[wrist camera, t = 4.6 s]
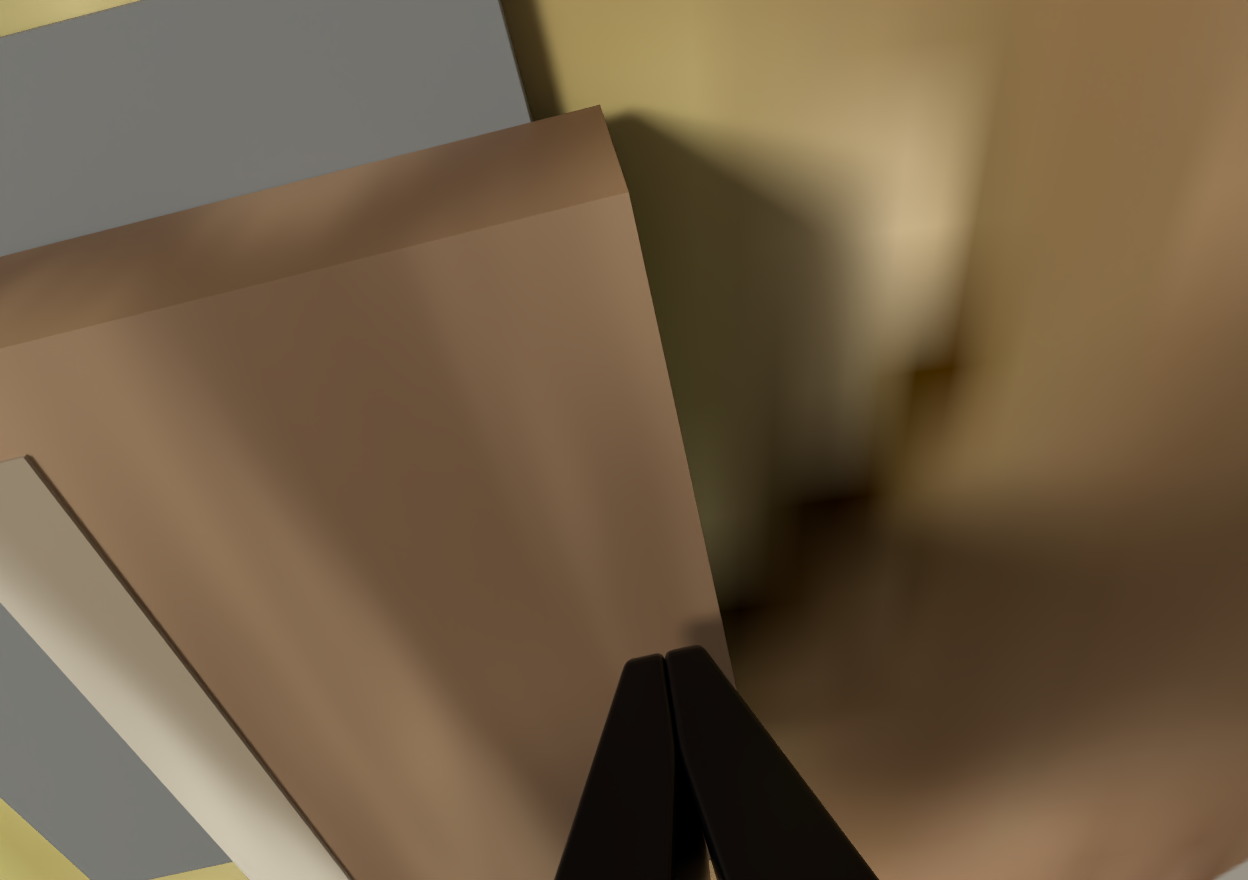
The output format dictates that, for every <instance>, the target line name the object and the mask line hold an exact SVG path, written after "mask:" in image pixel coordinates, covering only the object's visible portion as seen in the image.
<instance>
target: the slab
mask: <svg viewBox="0 0 1248 880" xmlns="http://www.w3.org/2000/svg"><path fill="white" fill-rule="evenodd" d="M0 603H1V604H2V605H3V606H4V607H5V608H6V609H7V611H8V612H9V613H10V614H11V615H12V616H13V617H14V618H15V619H16V621H17V622H18V623H19V624H20V625H21V626H22V627H23V628H24V629H25V631H26V632H27V633H28V634H29V635H30V636H31V637H32V638H33V639H34V641H35V642H36V643H37V644H38V645H39V646H40V647H41V648H42V650H43V651H44V652H45V653H46V654H47V655H48V656H49V657H50V658H51V660H52V661H53V662H54V663H55V664H56V665H57V666H58V667H59V668H60V670H61V671H62V672H63V673H64V674H65V675H66V676H67V677H68V678H69V680H70V681H71V682H72V683H73V684H74V685H75V686H76V687H77V688H78V690H79V691H80V692H81V693H82V694H83V695H84V696H85V697H86V698H87V700H88V701H89V702H90V703H91V704H92V705H93V706H94V707H95V708H96V710H97V711H98V712H99V713H100V714H101V715H102V716H103V717H104V719H105V720H106V721H107V722H108V723H109V724H110V725H111V726H112V727H113V729H114V730H115V731H116V732H117V733H118V734H119V735H120V736H121V737H122V739H123V740H124V741H125V742H126V743H127V744H128V745H129V746H130V747H131V749H132V750H133V751H134V752H135V753H136V754H137V755H138V756H139V757H140V759H141V760H142V761H143V762H144V763H145V764H146V765H147V766H148V767H149V769H150V770H151V771H152V772H153V773H154V774H155V775H156V776H157V778H158V779H159V780H160V781H161V782H162V783H163V784H164V785H165V786H166V788H167V789H168V790H169V791H170V792H171V793H172V794H173V795H174V796H175V798H176V799H177V800H178V801H179V802H180V803H181V804H182V805H183V806H184V808H185V809H186V810H187V811H188V812H189V813H190V814H191V815H192V816H193V818H194V819H195V820H196V821H197V822H198V823H199V824H200V825H201V826H202V828H203V829H204V830H205V831H206V832H207V833H208V834H209V835H210V836H211V838H212V839H213V840H214V841H215V842H216V843H217V844H218V845H219V847H220V848H221V849H222V850H223V851H224V852H225V853H226V854H227V855H228V857H229V858H230V859H231V860H232V861H233V862H234V863H235V864H236V865H237V867H238V868H239V869H240V870H241V871H242V872H243V873H244V874H245V875H246V877H247V878H248V879H249V880H554V878H555V875H556V872H557V868H558V865H559V862H560V859H561V856H562V853H563V850H564V847H565V844H566V841H567V838H568V835H569V832H570V829H571V826H572V823H573V820H574V817H575V813H576V810H577V807H578V804H579V801H580V798H581V795H582V792H583V789H584V786H585V783H586V780H587V777H588V774H589V771H590V768H591V765H592V762H593V759H594V755H595V752H596V749H597V746H598V743H599V740H600V737H601V734H602V731H603V728H604V725H605V722H606V719H607V716H608V713H609V710H610V707H611V704H612V701H613V697H614V694H615V691H616V688H617V685H618V682H619V679H620V676H621V673H622V670H623V667H624V665H625V663H626V662H627V661H628V660H630V659H633V658H637V657H642V656H646V655H651V654H655V653H659V654H661V655H663V656H664V658H665V655H666V653H667V652H668V651H670V650H673V649H678V648H682V647H687V646H692V645H701V646H702V647H703V648H704V649H705V650H706V651H707V652H708V653H709V655H710V656H711V657H712V659H713V660H714V661H715V663H716V664H717V665H718V667H719V668H720V669H721V671H722V672H723V673H724V675H725V676H726V677H727V679H728V680H729V681H730V683H731V684H732V685H733V687H734V688H735V689H736V684H735V679H734V675H733V670H732V666H731V661H730V656H729V652H728V647H727V642H726V638H725V633H724V629H723V624H722V619H721V615H720V610H719V606H718V601H717V596H716V592H715V587H714V583H713V578H712V573H711V569H710V564H709V560H708V555H707V550H706V546H705V541H704V537H703V532H702V527H701V523H700V518H699V514H698V509H697V504H696V500H695V495H694V491H693V486H692V481H691V477H690V472H689V468H688V463H687V458H686V454H685V449H684V445H683V440H682V435H681V431H680V426H679V422H678V417H677V412H676V408H675V403H674V399H673V394H672V389H671V385H670V380H669V376H668V371H667V366H666V362H665V357H664V353H663V348H662V343H661V339H660V334H659V330H658V325H657V320H656V316H655V311H654V307H653V302H652V297H651V293H650V288H649V284H648V279H647V274H646V270H645V265H644V261H643V256H642V251H641V247H640V242H639V238H638V233H637V228H636V224H635V219H634V215H633V210H632V205H631V201H630V196H629V192H628V189H627V186H626V183H625V180H624V177H623V174H622V170H621V167H620V164H619V161H618V158H617V155H616V152H615V149H614V146H613V143H612V140H611V137H610V134H609V131H608V128H607V125H606V122H605V119H604V116H603V113H602V110H601V107H600V105H597V106H593V107H589V108H585V109H581V110H577V111H573V112H569V113H565V114H561V115H557V116H553V117H549V118H546V119H542V120H538V121H534V122H530V123H526V124H522V125H518V126H514V127H510V128H506V129H502V130H498V131H494V132H490V133H486V134H482V135H478V136H475V137H471V138H467V139H463V140H459V141H455V142H451V143H447V144H443V145H439V146H435V147H431V148H427V149H423V150H419V151H415V152H411V153H407V154H404V155H400V156H396V157H392V158H388V159H384V160H380V161H376V162H372V163H368V164H364V165H360V166H356V167H352V168H348V169H344V170H340V171H336V172H332V173H329V174H325V175H321V176H317V177H313V178H309V179H305V180H301V181H297V182H293V183H289V184H285V185H281V186H277V187H273V188H269V189H265V190H261V191H258V192H254V193H250V194H246V195H242V196H238V197H234V198H230V199H226V200H222V201H218V202H214V203H210V204H206V205H202V206H198V207H194V208H190V209H187V210H183V211H179V212H175V213H171V214H167V215H163V216H159V217H155V218H151V219H147V220H143V221H139V222H135V223H131V224H127V225H123V226H119V227H115V228H112V229H108V230H104V231H100V232H96V233H92V234H88V235H84V236H80V237H76V238H72V239H68V240H64V241H60V242H56V243H52V244H48V245H44V246H41V247H37V248H33V249H29V250H25V251H21V252H17V253H13V254H9V255H5V256H1V257H0ZM736 691H737V689H736ZM706 847H707V844H706ZM707 853H708V860H711V858H710V855H709V851H708V848H707Z"/></svg>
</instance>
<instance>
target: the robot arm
mask: <svg viewBox="0 0 1248 880" xmlns="http://www.w3.org/2000/svg"><path fill="white" fill-rule="evenodd" d="M706 844H707V847H706ZM707 848H708V851H709V855H710V858H711V861H712V865H713V868H714V872H715V875H716V878H717V880H879V879H878V878H877V876H876V875H875V874H874V872H873V871H872V870H871V868H870V867H869V866H868V864H867V863H866V862H865V860H864V859H863V858H862V856H861V855H860V854H859V852H858V851H857V850H856V848H855V847H854V846H853V844H852V843H851V842H850V840H849V839H848V838H847V836H846V835H845V834H844V833H843V831H842V830H841V829H840V827H839V826H838V825H837V823H836V822H835V821H834V819H833V818H832V817H831V815H830V814H829V813H828V811H827V810H826V809H825V807H824V806H823V805H822V803H821V802H820V801H819V799H818V798H817V797H816V795H815V794H814V793H813V791H812V790H811V789H810V787H809V786H808V785H807V783H806V782H805V781H804V779H803V778H802V777H801V775H800V774H799V773H798V771H797V770H796V769H795V768H794V766H793V765H792V764H791V762H790V761H789V760H788V758H787V757H786V756H785V754H784V753H783V752H782V750H781V749H780V748H779V746H778V745H777V744H776V742H775V741H774V740H773V738H772V737H771V736H770V734H769V733H768V732H767V730H766V729H765V728H764V726H763V725H762V724H761V722H760V721H759V720H758V718H757V717H756V716H755V714H754V713H753V712H752V710H751V709H750V708H749V707H748V705H747V704H746V703H745V701H744V700H743V699H742V697H741V696H740V695H739V693H738V692H737V691H736V689H735V688H734V687H733V685H732V684H731V683H730V681H729V680H728V679H727V677H726V676H725V675H724V673H723V672H722V671H721V669H720V668H719V667H718V665H717V664H716V663H715V661H714V660H713V659H712V657H711V656H710V655H709V653H708V652H707V651H706V650H705V649H704V648H703V647H702V646H701V645H692V646H687V647H682V648H678V649H673V650H670V651H668V652H667V653H666V655H665V658H664V656H663V655H661V654H659V653H655V654H651V655H646V656H642V657H637V658H633V659H630V660H628V661H627V662H626V663H625V665H624V667H623V670H622V673H621V676H620V679H619V682H618V685H617V688H616V691H615V694H614V697H613V701H612V704H611V707H610V710H609V713H608V716H607V719H606V722H605V725H604V728H603V731H602V734H601V737H600V740H599V743H598V746H597V749H596V752H595V755H594V759H593V762H592V765H591V768H590V771H589V774H588V777H587V780H586V783H585V786H584V789H583V792H582V795H581V798H580V801H579V804H578V807H577V810H576V813H575V817H574V820H573V823H572V826H571V829H570V832H569V835H568V838H567V841H566V844H565V847H564V850H563V853H562V856H561V859H560V862H559V865H558V868H557V872H556V875H555V878H554V880H711V879H710V870H709V861H708V853H707Z"/></svg>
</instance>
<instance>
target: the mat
mask: <svg viewBox="0 0 1248 880" xmlns="http://www.w3.org/2000/svg"><path fill="white" fill-rule="evenodd" d="M530 122H533V120H532V116H531V112H530V109H529V105H528V101H527V97H526V94H525V90H524V86H523V82H522V79H521V75H520V71H519V67H518V64H517V60H516V56H515V53H514V49H513V45H512V41H511V38H510V34H509V30H508V26H507V23H506V19H505V15H504V11H503V8H502V4H501V0H140V1H136V2H133V3H129V4H125V5H121V6H117V7H113V8H110V9H106V10H102V11H98V12H94V13H90V14H87V15H83V16H79V17H75V18H71V19H67V20H63V21H60V22H56V23H52V24H48V25H44V26H40V27H37V28H33V29H29V30H25V31H21V32H17V33H14V34H10V35H6V36H2V37H0V257H1V256H5V255H9V254H13V253H17V252H21V251H25V250H29V249H33V248H37V247H41V246H44V245H48V244H52V243H56V242H60V241H64V240H68V239H72V238H76V237H80V236H84V235H88V234H92V233H96V232H100V231H104V230H108V229H112V228H115V227H119V226H123V225H127V224H131V223H135V222H139V221H143V220H147V219H151V218H155V217H159V216H163V215H167V214H171V213H175V212H179V211H183V210H187V209H190V208H194V207H198V206H202V205H206V204H210V203H214V202H218V201H222V200H226V199H230V198H234V197H238V196H242V195H246V194H250V193H254V192H258V191H261V190H265V189H269V188H273V187H277V186H281V185H285V184H289V183H293V182H297V181H301V180H305V179H309V178H313V177H317V176H321V175H325V174H329V173H332V172H336V171H340V170H344V169H348V168H352V167H356V166H360V165H364V164H368V163H372V162H376V161H380V160H384V159H388V158H392V157H396V156H400V155H404V154H407V153H411V152H415V151H419V150H423V149H427V148H431V147H435V146H439V145H443V144H447V143H451V142H455V141H459V140H463V139H467V138H471V137H475V136H478V135H482V134H486V133H490V132H494V131H498V130H502V129H506V128H510V127H514V126H518V125H522V124H526V123H530ZM0 798H1V799H3V800H4V801H5V802H6V803H7V804H8V805H9V806H10V807H11V808H12V809H14V810H15V811H16V812H17V813H18V814H19V815H20V816H21V817H22V818H23V819H24V820H26V821H27V822H28V823H29V824H30V825H31V826H32V827H33V828H34V829H35V830H37V831H38V832H39V833H40V834H41V835H42V836H43V837H44V838H45V839H46V840H48V841H49V842H50V843H51V844H52V845H53V846H54V847H55V848H56V849H57V850H59V851H60V852H61V853H62V854H63V855H64V856H65V857H66V858H67V859H68V860H70V861H71V862H72V863H73V864H74V865H75V866H76V867H77V868H78V869H79V870H80V871H82V872H83V873H84V874H85V875H86V876H87V877H88V878H89V879H90V880H149V879H154V878H159V877H163V876H168V875H173V874H178V873H182V872H187V871H192V870H196V869H201V868H206V867H211V866H215V865H220V864H225V863H229V862H233V861H232V860H231V859H230V858H229V857H228V855H227V854H226V853H225V852H224V851H223V850H222V849H221V848H220V847H219V845H218V844H217V843H216V842H215V841H214V840H213V839H212V838H211V836H210V835H209V834H208V833H207V832H206V831H205V830H204V829H203V828H202V826H201V825H200V824H199V823H198V822H197V821H196V820H195V819H194V818H193V816H192V815H191V814H190V813H189V812H188V811H187V810H186V809H185V808H184V806H183V805H182V804H181V803H180V802H179V801H178V800H177V799H176V798H175V796H174V795H173V794H172V793H171V792H170V791H169V790H168V789H167V788H166V786H165V785H164V784H163V783H162V782H161V781H160V780H159V779H158V778H157V776H156V775H155V774H154V773H153V772H152V771H151V770H150V769H149V767H148V766H147V765H146V764H145V763H144V762H143V761H142V760H141V759H140V757H139V756H138V755H137V754H136V753H135V752H134V751H133V750H132V749H131V747H130V746H129V745H128V744H127V743H126V742H125V741H124V740H123V739H122V737H121V736H120V735H119V734H118V733H117V732H116V731H115V730H114V729H113V727H112V726H111V725H110V724H109V723H108V722H107V721H106V720H105V719H104V717H103V716H102V715H101V714H100V713H99V712H98V711H97V710H96V708H95V707H94V706H93V705H92V704H91V703H90V702H89V701H88V700H87V698H86V697H85V696H84V695H83V694H82V693H81V692H80V691H79V690H78V688H77V687H76V686H75V685H74V684H73V683H72V682H71V681H70V680H69V678H68V677H67V676H66V675H65V674H64V673H63V672H62V671H61V670H60V668H59V667H58V666H57V665H56V664H55V663H54V662H53V661H52V660H51V658H50V657H49V656H48V655H47V654H46V653H45V652H44V651H43V650H42V648H41V647H40V646H39V645H38V644H37V643H36V642H35V641H34V639H33V638H32V637H31V636H30V635H29V634H28V633H27V632H26V631H25V629H24V628H23V627H22V626H21V625H20V624H19V623H18V622H17V621H16V619H15V618H14V617H13V616H12V615H11V614H10V613H9V612H8V611H7V609H6V608H5V607H4V606H3V605H2V604H1V603H0Z"/></svg>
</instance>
